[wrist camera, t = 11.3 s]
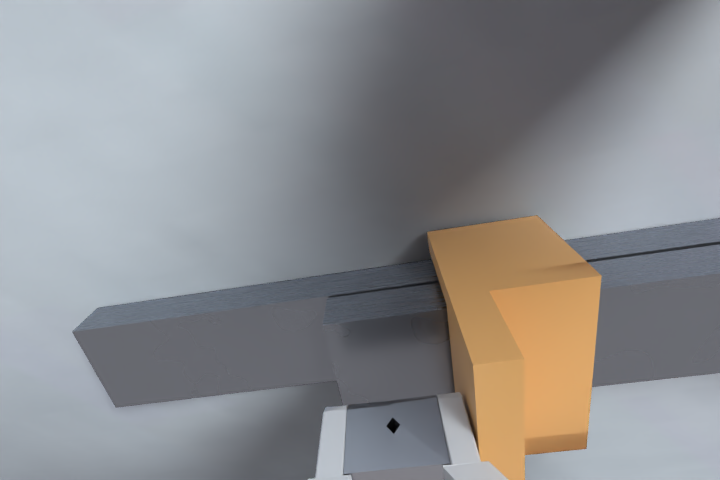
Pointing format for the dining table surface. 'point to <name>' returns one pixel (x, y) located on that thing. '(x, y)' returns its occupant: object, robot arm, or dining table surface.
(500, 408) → the orange c-shaped bracket
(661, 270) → the tongs arm
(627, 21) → the dining table surface
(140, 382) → the tongs
